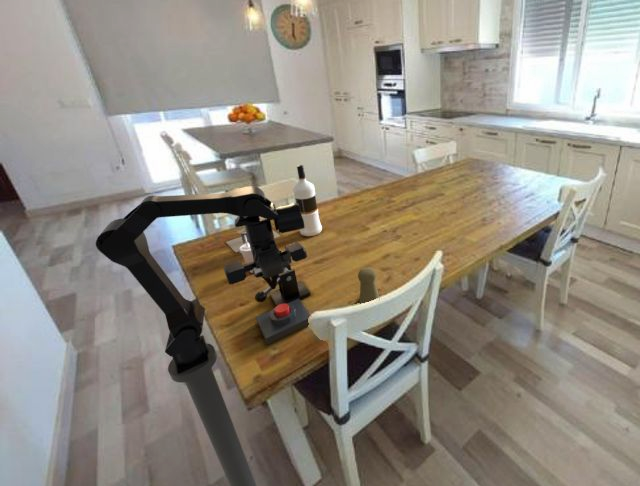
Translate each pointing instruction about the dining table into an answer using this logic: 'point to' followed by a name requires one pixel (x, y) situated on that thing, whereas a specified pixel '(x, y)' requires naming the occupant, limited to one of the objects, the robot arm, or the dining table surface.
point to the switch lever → (266, 291)
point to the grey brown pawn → (367, 285)
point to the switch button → (282, 310)
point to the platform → (242, 240)
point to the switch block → (283, 322)
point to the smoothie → (246, 252)
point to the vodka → (307, 204)
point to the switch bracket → (289, 288)
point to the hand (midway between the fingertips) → (273, 288)
